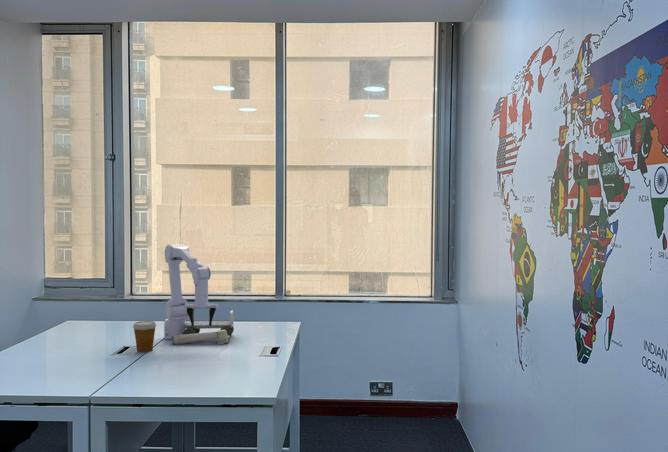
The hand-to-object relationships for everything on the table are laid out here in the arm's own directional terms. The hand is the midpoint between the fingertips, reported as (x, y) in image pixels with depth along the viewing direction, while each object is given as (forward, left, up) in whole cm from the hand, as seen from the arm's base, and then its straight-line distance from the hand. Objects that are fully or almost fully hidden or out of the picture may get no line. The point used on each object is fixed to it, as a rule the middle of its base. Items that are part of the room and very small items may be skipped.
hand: (201, 325), depth 250 cm
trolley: (+1, +16, -9) cm, 19 cm away
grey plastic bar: (-1, +6, -10) cm, 12 cm away
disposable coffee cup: (-23, -6, -10) cm, 26 cm away
